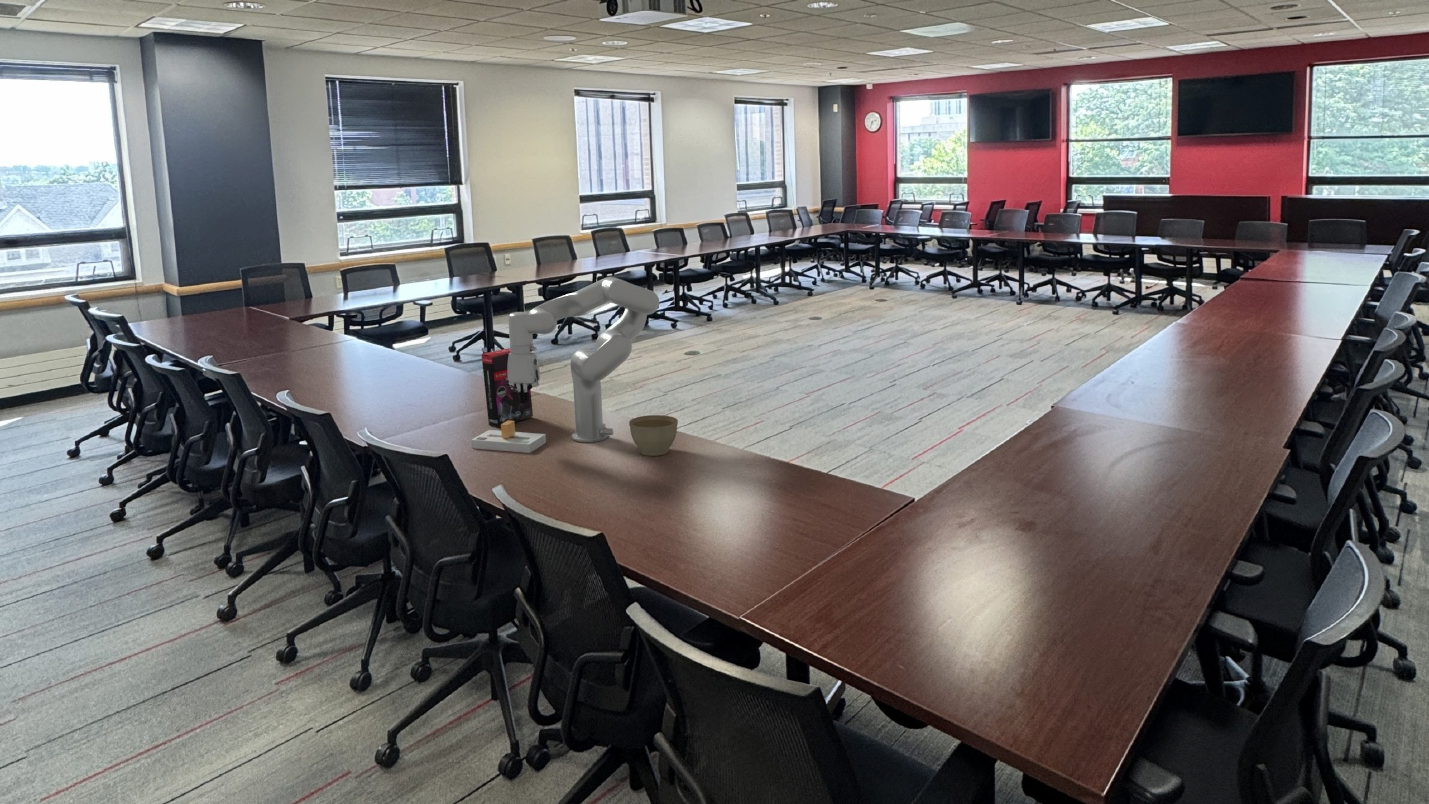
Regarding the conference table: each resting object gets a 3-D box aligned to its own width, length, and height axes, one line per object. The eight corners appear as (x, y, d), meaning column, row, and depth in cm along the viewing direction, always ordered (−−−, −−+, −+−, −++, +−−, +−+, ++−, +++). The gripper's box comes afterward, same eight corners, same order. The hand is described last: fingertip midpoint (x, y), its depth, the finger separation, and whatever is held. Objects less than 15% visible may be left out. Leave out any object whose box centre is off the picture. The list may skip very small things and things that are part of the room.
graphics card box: (498, 428, 337) (492, 355, 330) (486, 425, 341) (480, 353, 334) (533, 417, 350) (528, 347, 343) (521, 414, 354) (516, 345, 347)
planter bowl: (688, 451, 307) (687, 419, 304) (654, 463, 295) (653, 430, 293) (654, 442, 317) (653, 411, 315) (620, 453, 306) (618, 421, 303)
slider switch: (546, 442, 319) (545, 433, 318) (529, 452, 308) (529, 443, 307) (489, 437, 325) (489, 429, 324) (471, 448, 314) (471, 439, 313)
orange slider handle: (516, 440, 318) (515, 421, 316) (509, 444, 313) (507, 424, 311) (508, 439, 319) (507, 420, 317) (501, 443, 314) (500, 424, 312)
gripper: (547, 348, 307) (549, 401, 311) (507, 346, 311) (510, 398, 315) (536, 352, 300) (539, 407, 304) (496, 350, 304) (499, 403, 308)
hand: (524, 402), depth 310 cm, fingers closed
